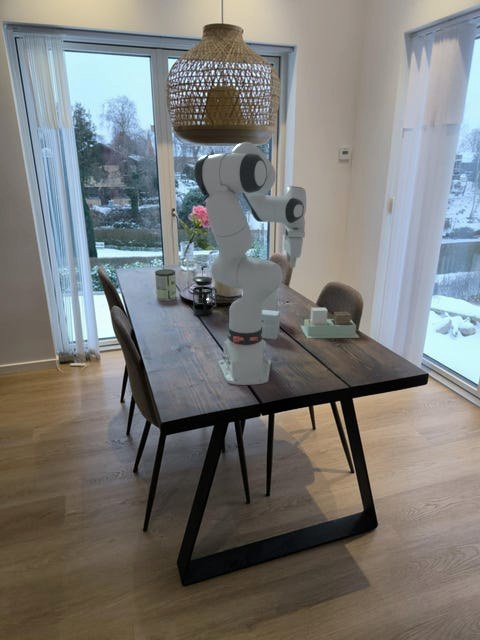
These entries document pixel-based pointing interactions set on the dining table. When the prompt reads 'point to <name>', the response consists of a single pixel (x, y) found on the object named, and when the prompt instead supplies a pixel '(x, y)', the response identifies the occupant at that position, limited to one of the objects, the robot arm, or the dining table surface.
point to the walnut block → (342, 318)
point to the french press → (203, 296)
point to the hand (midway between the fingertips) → (290, 264)
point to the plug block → (318, 316)
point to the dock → (329, 330)
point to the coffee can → (165, 284)
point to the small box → (270, 324)
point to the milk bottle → (271, 302)
